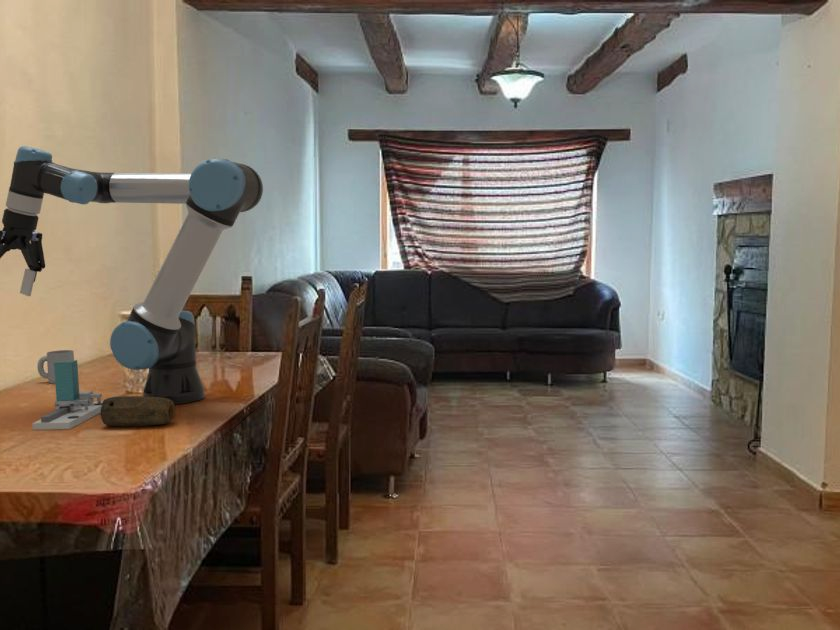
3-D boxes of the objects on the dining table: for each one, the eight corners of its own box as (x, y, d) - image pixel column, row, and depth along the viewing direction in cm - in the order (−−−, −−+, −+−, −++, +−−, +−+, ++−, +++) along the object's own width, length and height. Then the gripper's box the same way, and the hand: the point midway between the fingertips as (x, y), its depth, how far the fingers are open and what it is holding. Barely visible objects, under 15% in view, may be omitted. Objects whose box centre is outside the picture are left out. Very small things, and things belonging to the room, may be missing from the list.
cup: (72, 383, 226) (70, 352, 225) (35, 385, 223) (33, 354, 222) (77, 378, 233) (75, 349, 232) (41, 380, 230) (39, 351, 229)
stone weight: (98, 431, 167) (97, 400, 166) (108, 423, 174) (106, 394, 173) (170, 428, 168) (168, 397, 168) (176, 420, 175) (175, 391, 175)
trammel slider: (92, 407, 182) (89, 359, 181) (85, 411, 178) (82, 362, 177) (63, 407, 182) (60, 360, 181) (55, 411, 178) (52, 362, 177)
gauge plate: (109, 407, 190) (108, 389, 190) (69, 429, 168) (68, 408, 168) (77, 408, 190) (76, 390, 190) (32, 429, 168) (31, 409, 168)
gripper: (48, 211, 199) (30, 289, 202) (-34, 202, 175) (-53, 292, 178) (71, 219, 197) (53, 298, 200) (-8, 211, 173) (-27, 302, 176)
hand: (3, 295), depth 189 cm, fingers open, 13 cm apart
